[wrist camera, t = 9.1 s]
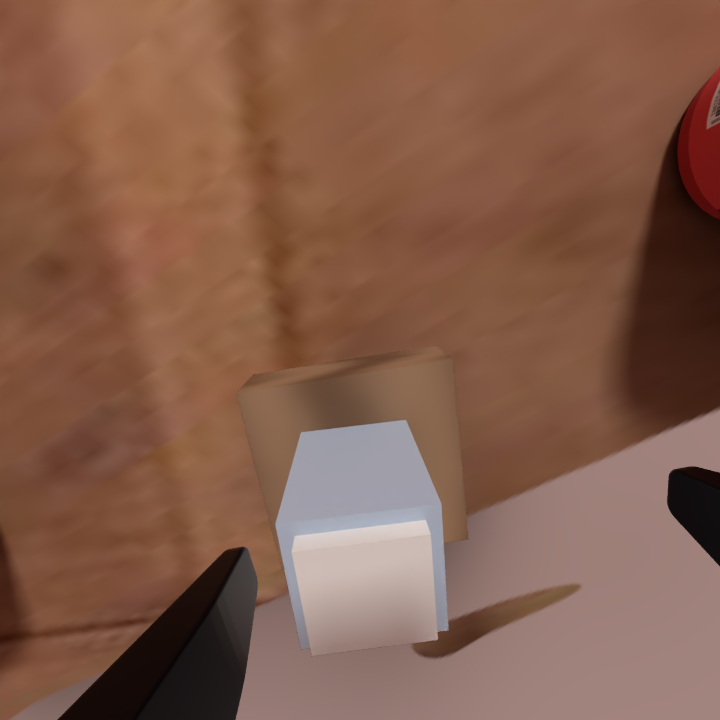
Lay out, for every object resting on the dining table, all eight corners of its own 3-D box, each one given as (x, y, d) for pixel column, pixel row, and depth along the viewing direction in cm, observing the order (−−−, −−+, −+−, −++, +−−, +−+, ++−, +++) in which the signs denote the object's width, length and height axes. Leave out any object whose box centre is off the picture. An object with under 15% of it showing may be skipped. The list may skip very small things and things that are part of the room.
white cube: (405, 419, 16) (447, 517, 9) (413, 509, 17) (454, 649, 11) (300, 432, 16) (271, 539, 9) (316, 521, 17) (298, 670, 11)
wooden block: (433, 344, 19) (453, 359, 15) (448, 496, 21) (468, 539, 18) (255, 372, 19) (236, 393, 15) (291, 522, 21) (281, 570, 18)
